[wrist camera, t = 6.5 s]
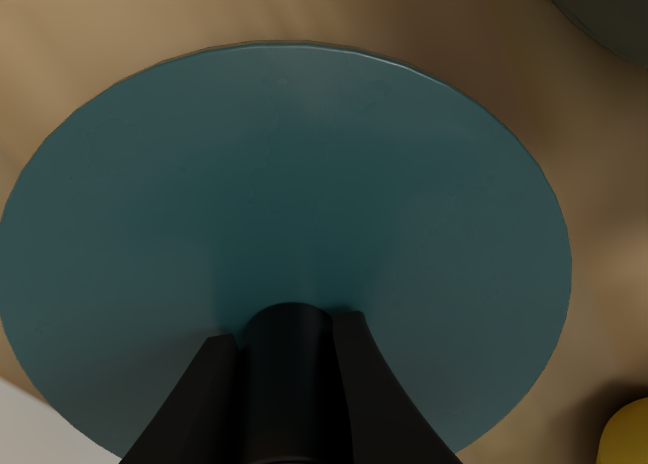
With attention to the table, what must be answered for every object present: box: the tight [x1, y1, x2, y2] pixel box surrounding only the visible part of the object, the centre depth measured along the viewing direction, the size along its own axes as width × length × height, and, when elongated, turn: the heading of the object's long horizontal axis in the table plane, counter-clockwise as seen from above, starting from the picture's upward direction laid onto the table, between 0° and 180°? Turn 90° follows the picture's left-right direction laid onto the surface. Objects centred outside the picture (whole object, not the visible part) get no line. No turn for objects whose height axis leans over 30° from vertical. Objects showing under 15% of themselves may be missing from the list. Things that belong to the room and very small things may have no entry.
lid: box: [0, 40, 572, 464], centre depth 10 cm, size 14×14×5 cm
